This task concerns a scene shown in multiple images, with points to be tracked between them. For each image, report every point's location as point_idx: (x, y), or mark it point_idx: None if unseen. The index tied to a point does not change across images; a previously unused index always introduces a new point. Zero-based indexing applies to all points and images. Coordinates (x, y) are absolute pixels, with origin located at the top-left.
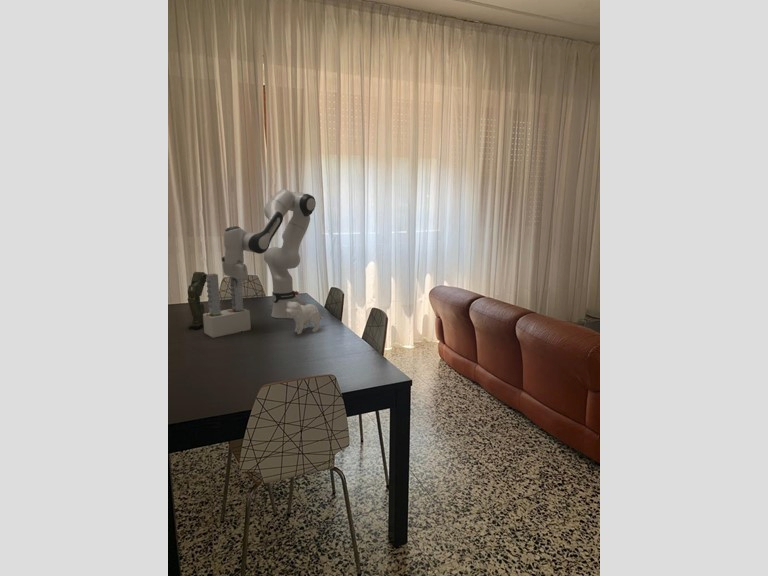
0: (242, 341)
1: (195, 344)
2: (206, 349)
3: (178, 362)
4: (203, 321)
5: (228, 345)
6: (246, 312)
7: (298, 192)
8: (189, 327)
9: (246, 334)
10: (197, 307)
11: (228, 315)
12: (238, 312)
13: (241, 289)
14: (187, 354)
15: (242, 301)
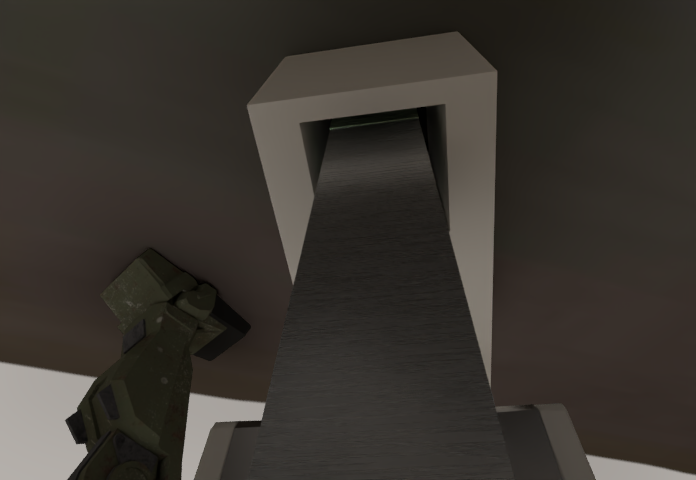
0: (684, 189)
1: (508, 385)
2: (629, 369)
3: (683, 467)
4: (195, 313)
5: (673, 277)
6: (494, 113)
7: None
8: (213, 358)
9: (559, 111)
10: (178, 435)
11: (491, 296)
12: (474, 203)
13: (469, 316)
14: (621, 432)
15: (434, 183)
